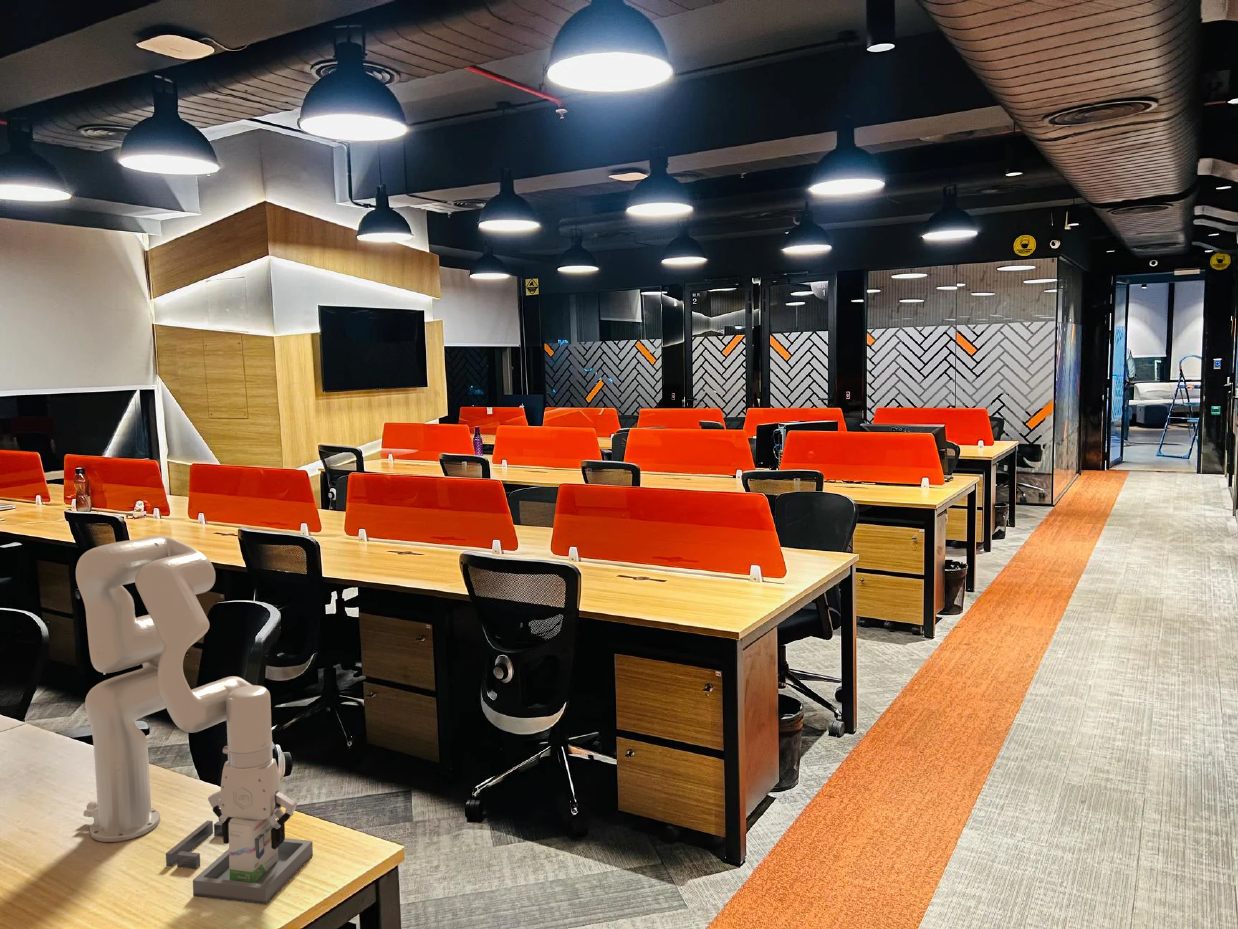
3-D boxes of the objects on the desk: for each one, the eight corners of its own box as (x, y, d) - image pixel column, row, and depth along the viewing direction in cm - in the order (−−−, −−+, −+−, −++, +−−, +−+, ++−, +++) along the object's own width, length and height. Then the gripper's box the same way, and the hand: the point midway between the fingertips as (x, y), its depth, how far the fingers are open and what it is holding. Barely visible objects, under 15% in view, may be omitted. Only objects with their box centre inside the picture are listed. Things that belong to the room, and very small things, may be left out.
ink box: (255, 858, 172) (253, 799, 170) (280, 861, 171) (277, 802, 169) (228, 883, 163) (225, 821, 162) (253, 886, 162) (251, 824, 161)
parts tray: (193, 896, 160) (192, 880, 160) (246, 848, 176) (245, 834, 176) (266, 904, 158) (265, 888, 157) (312, 855, 174) (312, 841, 173)
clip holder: (166, 866, 170) (165, 853, 170) (207, 832, 182) (207, 820, 182) (196, 869, 169) (195, 856, 168) (235, 835, 181) (235, 823, 181)
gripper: (194, 759, 162) (199, 848, 164) (282, 767, 159) (285, 858, 161) (220, 742, 170) (223, 828, 171) (304, 750, 167) (307, 837, 168)
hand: (253, 842), depth 166 cm, fingers open, 9 cm apart
